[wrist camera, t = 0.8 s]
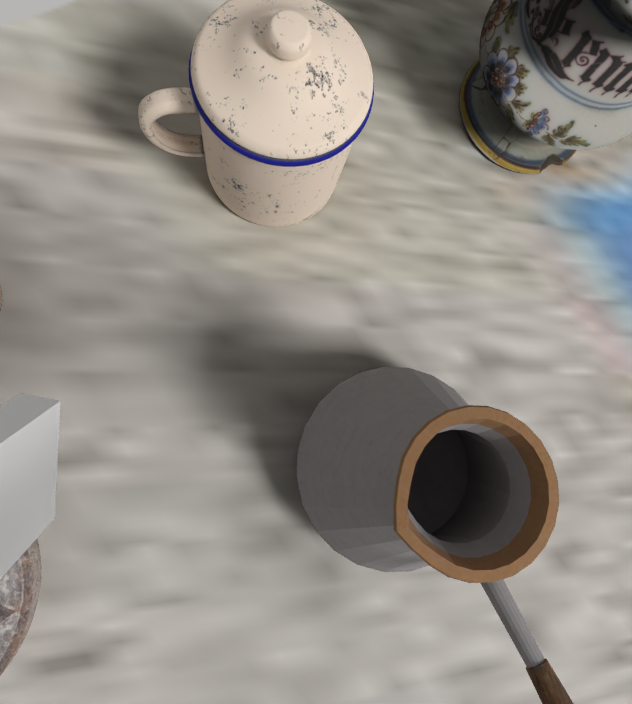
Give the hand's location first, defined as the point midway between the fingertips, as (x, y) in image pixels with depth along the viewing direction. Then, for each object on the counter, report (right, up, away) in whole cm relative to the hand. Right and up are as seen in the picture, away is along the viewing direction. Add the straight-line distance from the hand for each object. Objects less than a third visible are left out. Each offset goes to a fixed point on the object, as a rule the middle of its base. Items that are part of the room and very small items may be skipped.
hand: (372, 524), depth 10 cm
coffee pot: (+5, -8, +20) cm, 22 cm away
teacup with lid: (-5, +16, +22) cm, 28 cm away
